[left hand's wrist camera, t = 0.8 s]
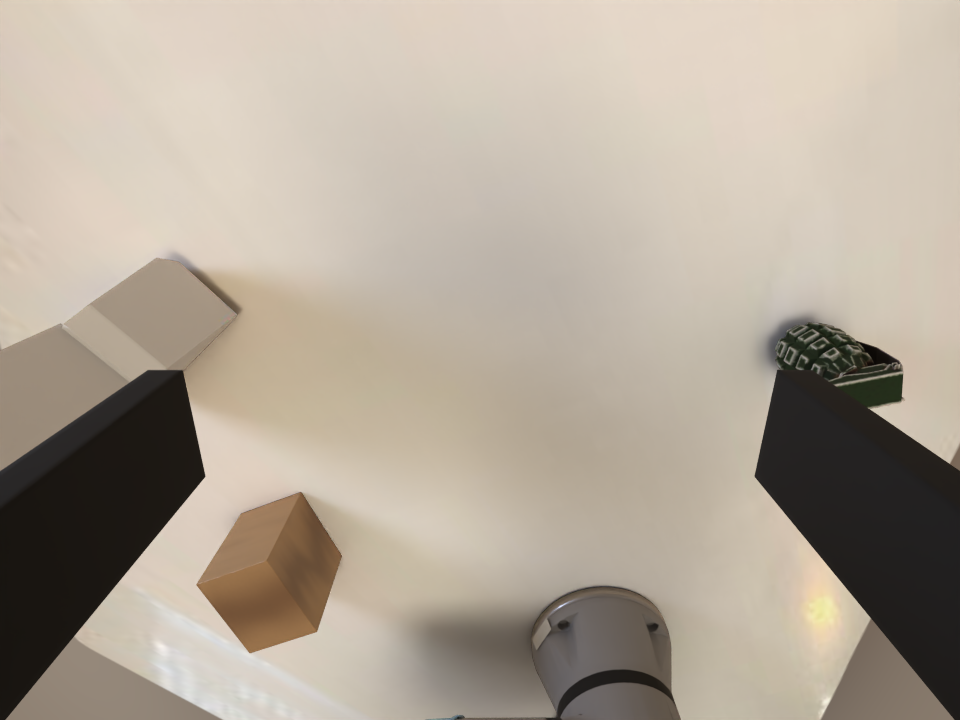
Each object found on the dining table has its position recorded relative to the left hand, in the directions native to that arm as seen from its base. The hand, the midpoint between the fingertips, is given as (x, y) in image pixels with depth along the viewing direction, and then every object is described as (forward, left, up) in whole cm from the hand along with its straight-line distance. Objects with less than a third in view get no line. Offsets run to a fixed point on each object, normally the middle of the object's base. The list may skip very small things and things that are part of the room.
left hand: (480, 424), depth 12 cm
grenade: (-10, -29, -35) cm, 47 cm away
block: (-33, +19, -35) cm, 52 cm away
